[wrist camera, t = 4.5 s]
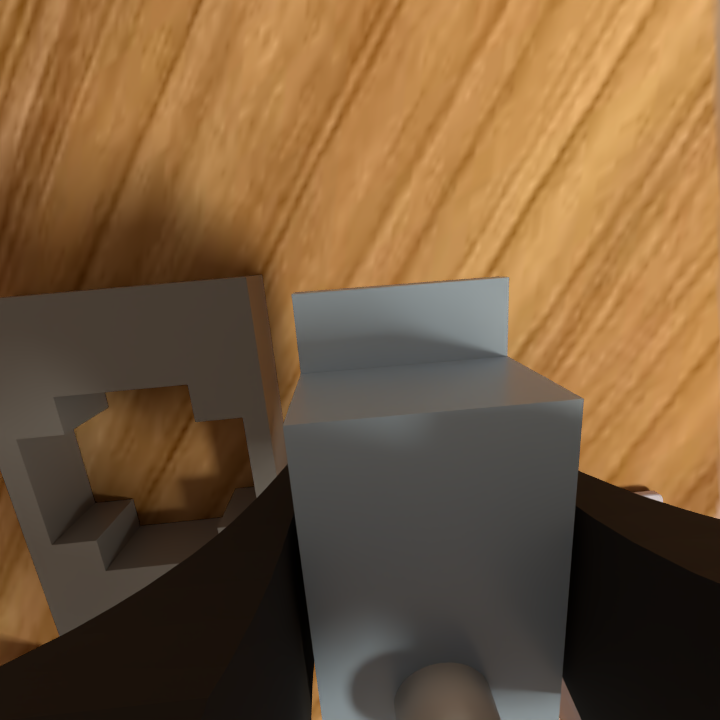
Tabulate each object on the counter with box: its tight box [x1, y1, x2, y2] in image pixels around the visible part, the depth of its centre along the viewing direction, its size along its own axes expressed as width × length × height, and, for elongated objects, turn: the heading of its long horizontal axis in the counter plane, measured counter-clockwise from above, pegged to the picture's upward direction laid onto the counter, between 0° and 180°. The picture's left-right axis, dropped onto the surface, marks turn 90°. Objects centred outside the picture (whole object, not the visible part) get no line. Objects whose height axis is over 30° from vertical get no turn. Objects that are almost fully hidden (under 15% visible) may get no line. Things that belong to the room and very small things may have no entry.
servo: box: [283, 276, 584, 720], centre depth 8 cm, size 4×10×7 cm, turn 4°
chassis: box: [0, 275, 288, 636], centre depth 17 cm, size 11×16×3 cm
